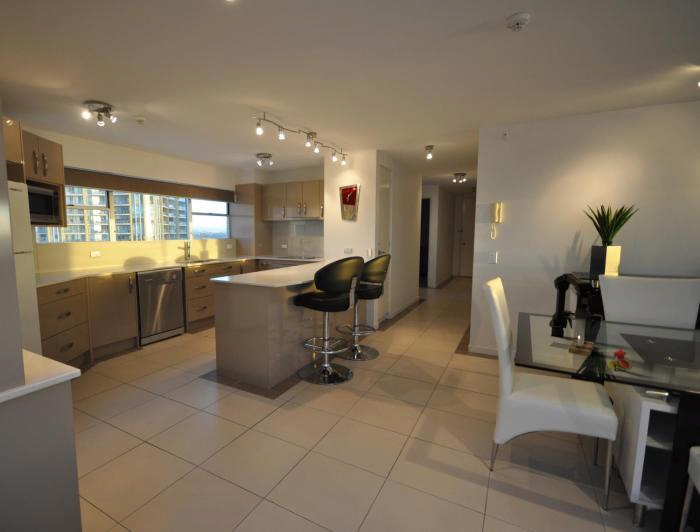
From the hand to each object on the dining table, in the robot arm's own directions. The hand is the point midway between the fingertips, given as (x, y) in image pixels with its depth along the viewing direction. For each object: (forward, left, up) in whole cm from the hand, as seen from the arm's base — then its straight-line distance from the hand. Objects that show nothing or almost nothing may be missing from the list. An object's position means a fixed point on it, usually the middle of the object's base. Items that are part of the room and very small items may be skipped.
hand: (580, 330), depth 195 cm
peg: (+1, -2, -13) cm, 13 cm away
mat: (-10, +3, -13) cm, 17 cm away
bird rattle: (+20, -19, -13) cm, 30 cm away
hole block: (+1, +3, -13) cm, 13 cm away
